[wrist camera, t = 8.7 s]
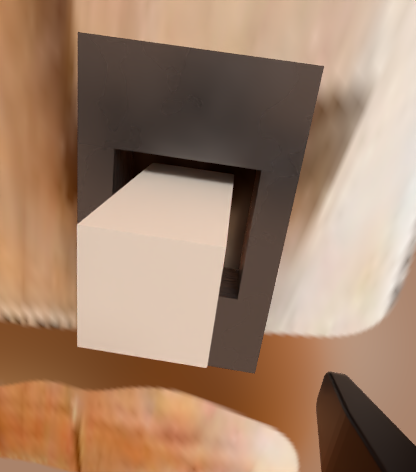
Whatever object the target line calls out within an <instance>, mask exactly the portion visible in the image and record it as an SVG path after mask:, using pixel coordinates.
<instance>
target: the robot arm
mask: <svg viewBox="0 0 416 472" xmlns="http://www.w3.org/2000/svg"><path fill="white" fill-rule="evenodd" d="M316 412H317V424H318V435H319V448H320V460H321V471H322V472H416V446H415V445H414V444H413V443H412V442H411V441H410V440H409V439H408V438H407V437H406V436H405V435H404V434H403V433H402V432H401V431H400V430H399V428H397V426H396V425H395V424H394V423H392V421H391V420H390V419H389V418H388V417H387V416H386V415H385V414H384V413H383V412H382V411H381V410H380V409H379V408H378V407H377V406H376V405H375V404H374V403H373V402H372V401H371V400H370V399H369V398H368V397H367V396H366V395H365V394H364V393H363V391H362V390H361V389H360V388H359V387H357V385H356V384H355V383H354V382H353V381H352V380H351V379H350V378H349V377H348V376H346V375H345V374H341V373H335V372H328V373H326V375H325V376H324V379H323V382H322V385H321V389H320V392H319V395H318V398H317V404H316Z"/></svg>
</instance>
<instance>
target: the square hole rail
mask: <svg viewBox="0 0 416 472" xmlns="http://www.w3.org/2000/svg"><path fill="white" fill-rule="evenodd" d="M323 68H324V66H318V65H311V64H304V63H297V62H290V61H282V60H275V59H268V58H261V57H253V56H246V55H239V54H232V53H225V52H217V51H210V50H203V49H196V48H189V47H181V46H174V45H167V44H160V43H152V42H145V41H138V40H131V39H124V38H116V37H109V36H102V35H95V34H87V33H80V32H78V223H80V222H81V221H82V220H83V219H84V218H86V217H87V216H88V215H89V214H91V213H92V212H93V211H94V210H95V209H97V208H98V207H99V206H100V205H102V204H103V203H104V202H105V201H107V200H108V199H109V198H110V197H111V196H113V195H114V194H115V193H116V192H118V191H119V190H120V189H121V188H122V187H124V186H125V185H126V184H127V183H129V182H130V181H131V180H132V168H133V151H135V152H142V153H148V154H155V155H162V156H169V157H175V158H182V159H189V160H196V161H202V162H209V163H216V164H222V165H229V166H236V167H243V168H249V169H256V170H257V171H256V176H255V182H254V187H253V193H252V199H251V204H250V210H249V215H248V221H247V226H246V232H245V237H244V243H243V248H242V254H241V259H240V265H239V270H235V269H228V268H223V271H222V277H221V283H220V289H219V296H218V302H217V308H216V315H215V321H214V327H213V333H212V340H211V346H210V352H209V359H208V365H207V366H214V367H219V368H225V369H231V370H237V371H243V372H249V373H255V370H256V366H257V361H258V357H259V353H260V348H261V344H262V339H263V335H264V330H265V326H266V321H267V317H268V313H269V308H270V304H271V299H272V295H273V290H274V286H275V282H276V277H277V273H278V268H279V264H280V259H281V255H282V250H283V246H284V242H285V237H286V233H287V228H288V224H289V219H290V215H291V210H292V206H293V202H294V197H295V193H296V188H297V184H298V179H299V175H300V171H301V166H302V162H303V157H304V153H305V148H306V144H307V139H308V135H309V131H310V126H311V122H312V117H313V113H314V108H315V104H316V99H317V95H318V91H319V86H320V82H321V77H322V73H323Z"/></svg>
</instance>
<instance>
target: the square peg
mask: <svg viewBox="0 0 416 472" xmlns="http://www.w3.org/2000/svg"><path fill="white" fill-rule="evenodd" d="M233 183H234V174H228V173H221V172H215V171H208V170H201V169H194V168H187V167H180V166H174V165H167V164H160V163H152V164H151V165H149V166H148V167H147V168H146V169H145V170H143V171H142V172H141V173H140V174H138V175H137V176H136V177H135V178H133V179H132V180H131V181H130V182H129V183H127V184H126V185H125V186H124V187H122V188H121V189H120V190H119V191H118V192H116V193H115V194H114V195H113V196H111V197H110V198H109V199H108V200H107V201H105V202H104V203H103V204H102V205H100V206H99V207H98V208H97V209H95V210H94V211H93V212H92V213H91V214H89V215H88V216H87V217H86V218H84V219H83V220H82V221H81V222H80V223H78V224H77V347H82V348H88V349H95V350H101V351H106V352H112V353H119V354H125V355H131V356H137V357H143V358H149V359H155V360H161V361H167V362H173V363H179V364H185V365H192V366H197V367H204V368H207V365H208V359H209V352H210V346H211V340H212V333H213V327H214V321H215V315H216V308H217V302H218V296H219V289H220V283H221V277H222V271H223V264H224V258H225V252H226V245H227V236H228V227H229V218H230V209H231V200H232V192H233Z"/></svg>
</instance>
